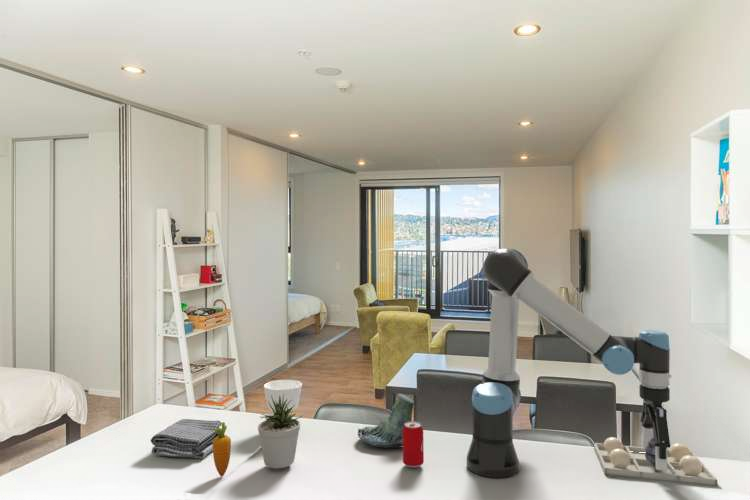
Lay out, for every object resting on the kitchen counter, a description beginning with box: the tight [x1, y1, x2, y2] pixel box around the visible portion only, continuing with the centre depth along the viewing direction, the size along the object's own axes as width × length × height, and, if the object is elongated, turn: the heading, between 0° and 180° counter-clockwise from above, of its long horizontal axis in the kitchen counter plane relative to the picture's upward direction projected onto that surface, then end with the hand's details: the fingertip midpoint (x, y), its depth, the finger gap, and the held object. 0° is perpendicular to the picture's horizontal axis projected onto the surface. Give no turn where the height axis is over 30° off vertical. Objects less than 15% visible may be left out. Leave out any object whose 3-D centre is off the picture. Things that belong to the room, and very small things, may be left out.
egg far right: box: [668, 442, 691, 462], centre depth 147 cm, size 5×5×5 cm
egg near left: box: [610, 449, 630, 469], centre depth 143 cm, size 5×5×5 cm
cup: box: [263, 379, 303, 416], centre depth 177 cm, size 14×14×16 cm
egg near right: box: [679, 455, 702, 476], centre depth 138 cm, size 5×5×5 cm
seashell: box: [645, 436, 662, 473], centre depth 141 cm, size 5×5×10 cm
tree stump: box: [357, 393, 415, 449], centre depth 168 cm, size 18×20×18 cm
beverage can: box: [402, 420, 425, 468], centre depth 147 cm, size 6×6×12 cm
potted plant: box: [257, 393, 304, 469], centre depth 149 cm, size 13×14×20 cm
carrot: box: [212, 421, 232, 478], centre depth 140 cm, size 5×5×15 cm
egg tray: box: [593, 442, 718, 487], centre depth 145 cm, size 28×19×2 cm
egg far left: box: [603, 436, 624, 454], centre depth 152 cm, size 5×5×5 cm
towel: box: [150, 418, 222, 460], centre depth 160 cm, size 15×18×8 cm
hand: (654, 459), depth 141 cm, fingers open, 13 cm apart
